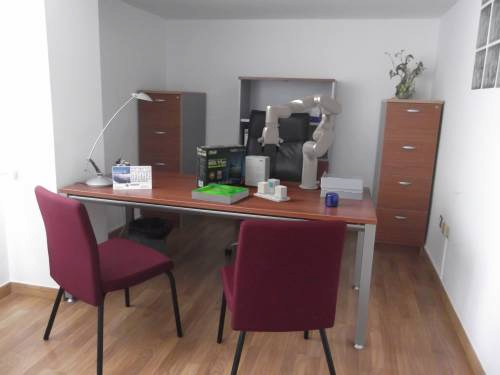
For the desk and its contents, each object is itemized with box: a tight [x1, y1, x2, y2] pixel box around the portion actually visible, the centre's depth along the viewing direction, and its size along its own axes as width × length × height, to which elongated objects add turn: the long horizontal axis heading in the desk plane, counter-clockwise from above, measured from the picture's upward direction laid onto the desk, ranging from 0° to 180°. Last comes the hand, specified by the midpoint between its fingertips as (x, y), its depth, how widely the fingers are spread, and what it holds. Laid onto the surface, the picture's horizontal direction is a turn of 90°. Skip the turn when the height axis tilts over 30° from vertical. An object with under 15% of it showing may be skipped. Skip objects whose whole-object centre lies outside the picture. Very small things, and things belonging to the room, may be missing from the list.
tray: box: [191, 184, 250, 205], centre depth 244 cm, size 25×25×5 cm
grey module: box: [267, 178, 281, 194], centre depth 262 cm, size 5×6×8 cm
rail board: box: [253, 182, 291, 203], centre depth 247 cm, size 10×21×8 cm, turn 44°
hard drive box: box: [244, 155, 271, 187], centre depth 280 cm, size 16×8×20 cm, turn 63°
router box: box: [195, 144, 247, 188], centre depth 277 cm, size 36×11×27 cm, turn 134°
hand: (269, 152), depth 262 cm, fingers open, 9 cm apart
